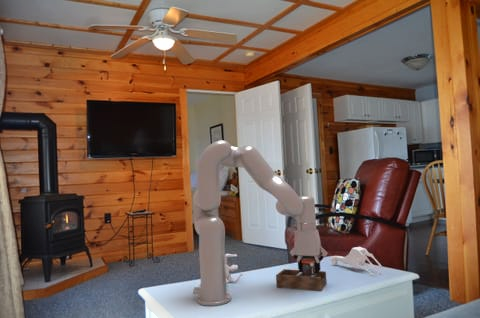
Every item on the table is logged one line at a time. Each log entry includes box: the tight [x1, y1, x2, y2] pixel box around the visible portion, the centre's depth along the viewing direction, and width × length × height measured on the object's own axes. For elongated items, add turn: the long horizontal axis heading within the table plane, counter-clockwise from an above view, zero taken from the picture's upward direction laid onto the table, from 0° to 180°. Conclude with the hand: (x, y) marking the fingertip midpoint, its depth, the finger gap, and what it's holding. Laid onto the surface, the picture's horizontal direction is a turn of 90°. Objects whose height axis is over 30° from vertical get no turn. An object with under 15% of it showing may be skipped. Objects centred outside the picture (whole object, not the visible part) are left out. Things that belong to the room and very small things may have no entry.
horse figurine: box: [330, 246, 383, 277], centre depth 170 cm, size 5×16×25 cm
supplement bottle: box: [301, 256, 317, 277], centre depth 148 cm, size 6×6×11 cm
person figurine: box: [197, 253, 243, 288], centre depth 158 cm, size 13×13×18 cm
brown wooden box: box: [275, 268, 327, 292], centre depth 150 cm, size 18×10×5 cm, turn 65°
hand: (309, 271), depth 148 cm, fingers closed on supplement bottle, 6 cm apart
